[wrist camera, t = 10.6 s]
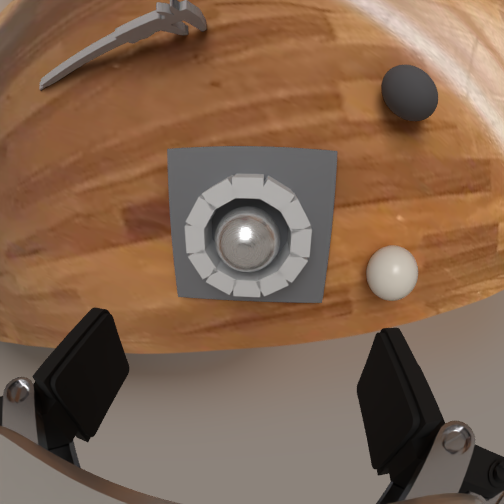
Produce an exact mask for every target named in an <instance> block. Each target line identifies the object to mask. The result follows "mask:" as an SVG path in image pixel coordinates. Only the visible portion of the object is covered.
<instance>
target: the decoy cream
mask: <svg viewBox="0 0 504 504" xmlns="http://www.w3.org/2000/svg"><path fill="white" fill-rule="evenodd" d="M366 277H367V282H368V285H369V287H370V289H371V290H372V291H373V293H374V294H376V295H377V296H378V297H380V298H382V299H384V300H389V301H394V300H399V299H402V298H404V297H405V296H407V295H408V294H409V293H410V292H411V291H412V290H413V288H414V287H415V285H416V282H417V278H418V266H417V263H416V260H415V258H414V257H413V255H412V254H411V253H410V252H409V251H408V250H406V249H405V248H403V247H400V246H395V245H390V246H386V247H383V248H381V249H379V250H378V251H376V252H375V253H374V254H373V255H372V257H371V258H370V260H369V262H368V265H367V270H366Z"/></svg>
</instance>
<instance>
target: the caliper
mask: <svg viewBox="0 0 504 504" xmlns="http://www.w3.org/2000/svg"><path fill="white" fill-rule="evenodd" d="M183 20H184V21H186V22H188V23H189V24H191V25H193V26H194V27H196V28H198V29H199V30H201V31H205V30H206V29H207V26H206V19H205V17H204V16H203V14H202V12H201V10H200V9H199V8H198V7H196V6H195V5H193V4H192V3H190V2H189V1H187V0H185V1H181V2H178V1H177V0H170V4H166V3H157V4H156V10H155V11H152V12H150V13H148V14H145V15H143V16H141V17H139V18H136V19H134V20H132V21H130V22H128V23H126V24H124V25H122V26H120V27H118V28H116V29H115V32H113V33H111V34H109V35H108V36H106V37H104V38H102V39H100V40H98V41H97V42H95V43H93V44H91V45H90V46H88V47H86V48H85V49H83V50H82V51H80V52H78V53H77V54H75V55H74V56H72V57H71V58H69V59H68V60H66V61H65V62H63V63H62V64H60V65H59V66H58V67H56V68H55V69H53V70H52V71H51V72H49V73H48V74H47V75H45V76H44V77H43V78H42V79H41V82H40V90H42V89H44V88H45V87H46V86H50V85H51V84H53V83H55V82H57V81H58V80H60V79H61V78H63V77H64V76H66V75H67V74H69V73H71V72H72V71H74V70H75V69H77V68H79V67H80V66H82V65H84V64H85V63H87V62H89V61H91V60H92V59H94V58H96V57H98V56H100V55H102V54H104V53H106V52H108V51H110V50H112V49H114V48H116V47H118V46H120V45H122V44H124V43H126V42H129V43H136V42H138V41H139V40H141V39H145V38H148V37H149V36H151V35H152V34H154V33H155V32H157V31H160V30H161V31H166V32H170V33H175V34H179V35H188V26H187V25H185V23H183V22H181V21H183Z"/></svg>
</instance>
